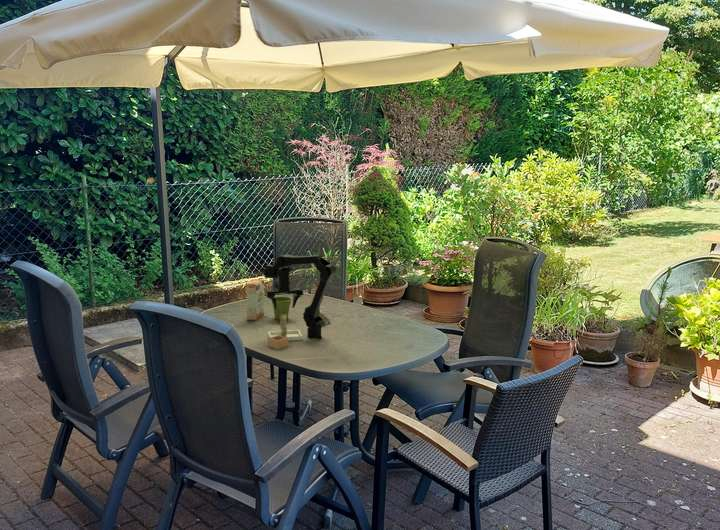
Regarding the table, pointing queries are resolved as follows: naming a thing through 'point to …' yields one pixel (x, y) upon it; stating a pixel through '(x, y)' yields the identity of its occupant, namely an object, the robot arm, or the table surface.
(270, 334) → the tray
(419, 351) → the table surface
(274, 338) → the pin cup
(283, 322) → the dowel pin
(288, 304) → the plant pot
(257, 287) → the cracker box
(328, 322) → the ceramic mug
